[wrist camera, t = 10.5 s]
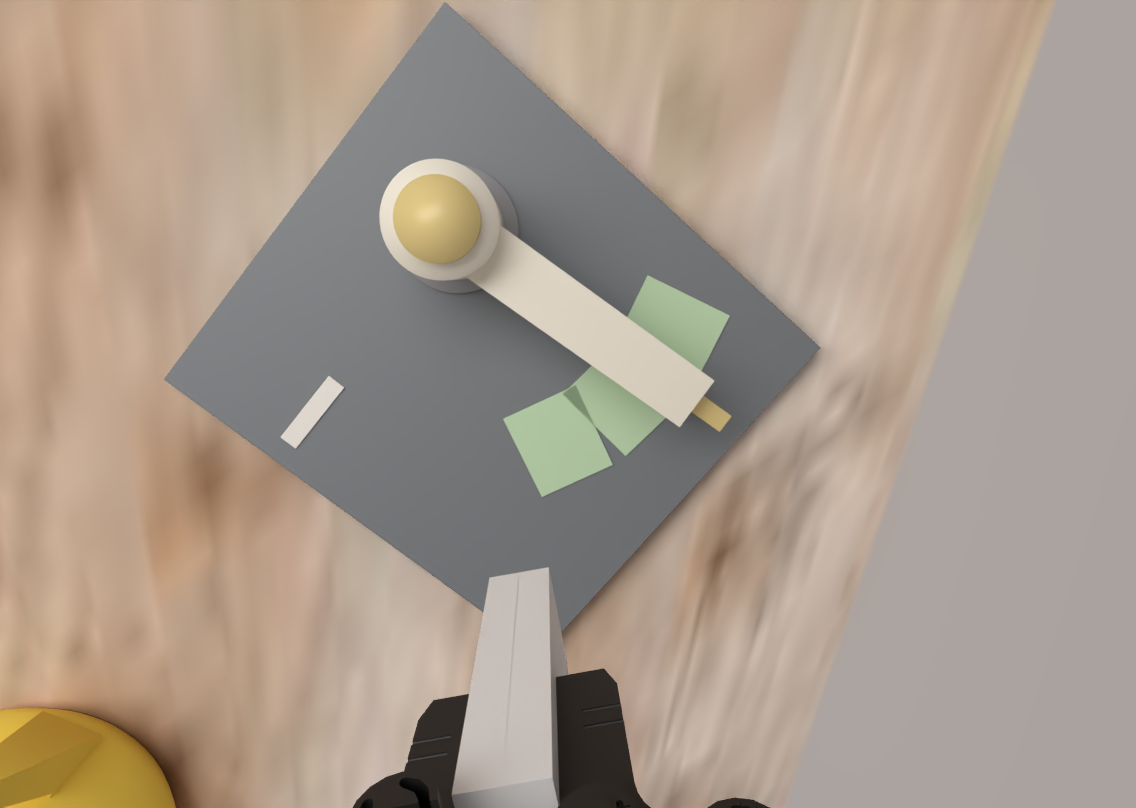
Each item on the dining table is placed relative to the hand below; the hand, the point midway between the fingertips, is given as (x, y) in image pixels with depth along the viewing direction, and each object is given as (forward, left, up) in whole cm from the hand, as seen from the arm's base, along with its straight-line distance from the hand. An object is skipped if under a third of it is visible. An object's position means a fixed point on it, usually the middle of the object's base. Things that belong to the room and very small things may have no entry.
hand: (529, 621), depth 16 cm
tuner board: (-2, -4, -21) cm, 21 cm away
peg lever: (-6, -3, -19) cm, 20 cm away
